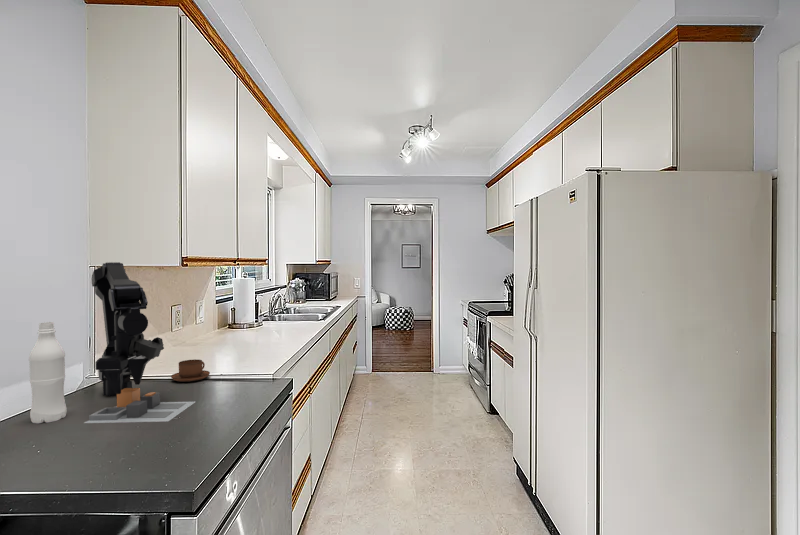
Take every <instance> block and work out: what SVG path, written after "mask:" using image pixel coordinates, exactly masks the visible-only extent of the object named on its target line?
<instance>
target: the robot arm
mask: <svg viewBox="0 0 800 535" xmlns="http://www.w3.org/2000/svg"><path fill="white" fill-rule="evenodd" d="M91 287H93V288H94V294H95V295H96V296H97V297H98V298H99V300H100V301H101V303H102V311H103V321H104V328H105V329H104V331H105V338H106V347H105V349H104V351H103V353H102V355H101V357H100V358H98V359H97V360H96V361H95V370H96V371H98V373H97V374H98V379H99V380H100V381H101V382H102V395H103V396H106V397H117V394H121V390H123V389H125V388H133V382H134V385H136V386H139V385H141V382H142V378H143V375H144V371H145V368H146V365H147V364H148V363H149V362H150V361H152V360H154V359H155V358H158V357H160V355H161V351H163V350H164V349H165V347H164V341H163V338H162V337H158V336H157V337H154V338H153V339H145V335H144V334H143V333H144V332H146V330H147V328H148V326H149V320H148V318H147V316H146V314H144V313H142V312H141V310H147V308H148V307H147V306H148V298H147V295H146V292H145V291H144V288H143V287H142V286H141V284H140V283H139V282H137V281H136V280H131V279H130V278H129V276H128V274H127V272H126V269H125V267H124V264H123V262H116V261H115V262H113V261H111V262H110V261H109V262H108V261H107V262H105V263H102V266H100V267H97V268H96V269H94V270H93V271H92V274H91ZM131 377H132V380H133V381H132V380H131Z"/></svg>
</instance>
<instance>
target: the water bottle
mask: <svg viewBox="0 0 800 535" xmlns="http://www.w3.org/2000/svg"><path fill="white" fill-rule="evenodd" d="M37 334H38V338H37V340H36V342H35V344H34V346H33V347H32V349H31V351H30V353H29V356H28V361H29V383H30V388H31V394H32V395H31V405H30V406H31V407H30V410H29V411H30V412H29V414H30V415H29V417H30V421H31V423H33V424H42V423H51V422H57V421H60V420H61V419H63V418H65V417H66V415H67V410H68V409H67V405H66V401H65V393H64V392H65V380H66V379H65V378H66V368H65V367H66V362H65V361H66V360H65V357H66V353H65V350H64V348H63V346H62V345H61V344H60V342H59V341H58V339H57V337H56V330H55V323H54V321H53V322H51V321H49V322H48V321H47V322H39V323H38V330H37Z"/></svg>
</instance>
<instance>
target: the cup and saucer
mask: <svg viewBox="0 0 800 535" xmlns="http://www.w3.org/2000/svg"><path fill="white" fill-rule="evenodd" d="M205 366H206V365H205V362H204V361H203V360H202V359H186V360H181V361H179V362H178V372H176V373H174V374H172V375H170V378H171V379H172V380H173V381H176V382H179V383H180V382H181V383H185V382H186V383H187V382H190V383H191V382H196V381H200V380H201V381H202V380H203V379H206V378H208V377H209V375H210V374H211V373H210V372H211V371H209V370H205Z"/></svg>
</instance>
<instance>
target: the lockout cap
mask: <svg viewBox="0 0 800 535" xmlns="http://www.w3.org/2000/svg"><path fill="white" fill-rule="evenodd" d="M134 401H141V388H140V387H132V388H125V389H123V390H121V394H117V396H116V406H117V407H126V405H128V404H130V403H132V402H134Z"/></svg>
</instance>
